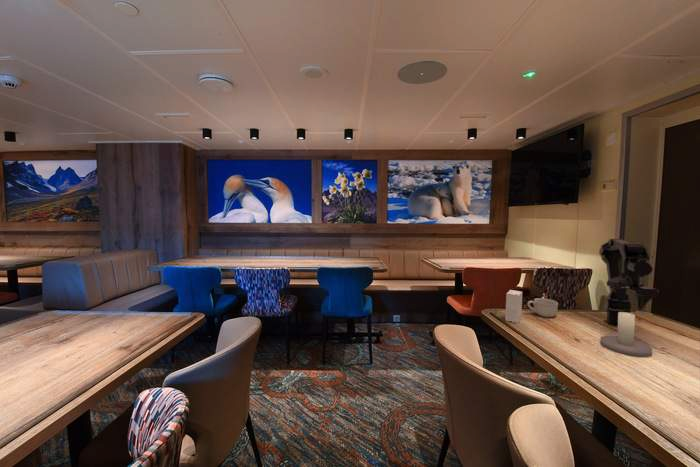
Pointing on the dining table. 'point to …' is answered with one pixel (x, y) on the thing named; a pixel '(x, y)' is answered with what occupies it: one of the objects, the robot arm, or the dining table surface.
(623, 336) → the canister
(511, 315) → the skincare box
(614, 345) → the grey-brown round disc
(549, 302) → the teacup
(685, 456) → the dining table surface
